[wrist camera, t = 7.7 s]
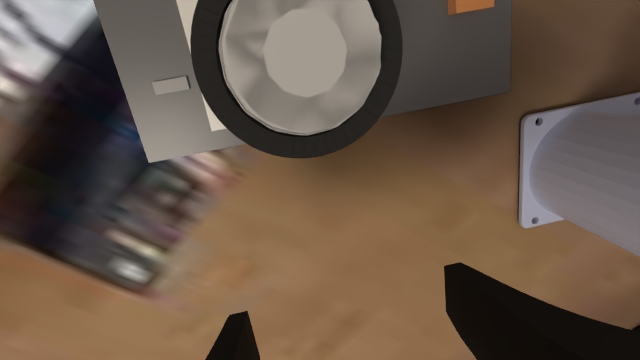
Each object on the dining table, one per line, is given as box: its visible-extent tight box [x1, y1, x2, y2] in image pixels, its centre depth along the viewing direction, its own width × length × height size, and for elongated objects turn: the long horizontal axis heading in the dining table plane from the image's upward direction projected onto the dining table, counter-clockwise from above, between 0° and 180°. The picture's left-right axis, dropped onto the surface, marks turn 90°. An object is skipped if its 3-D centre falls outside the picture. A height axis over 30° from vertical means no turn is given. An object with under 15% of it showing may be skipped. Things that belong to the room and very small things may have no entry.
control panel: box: [93, 0, 512, 163], centre depth 18 cm, size 20×12×3 cm, turn 100°
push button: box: [190, 0, 403, 158], centre depth 13 cm, size 7×5×10 cm
